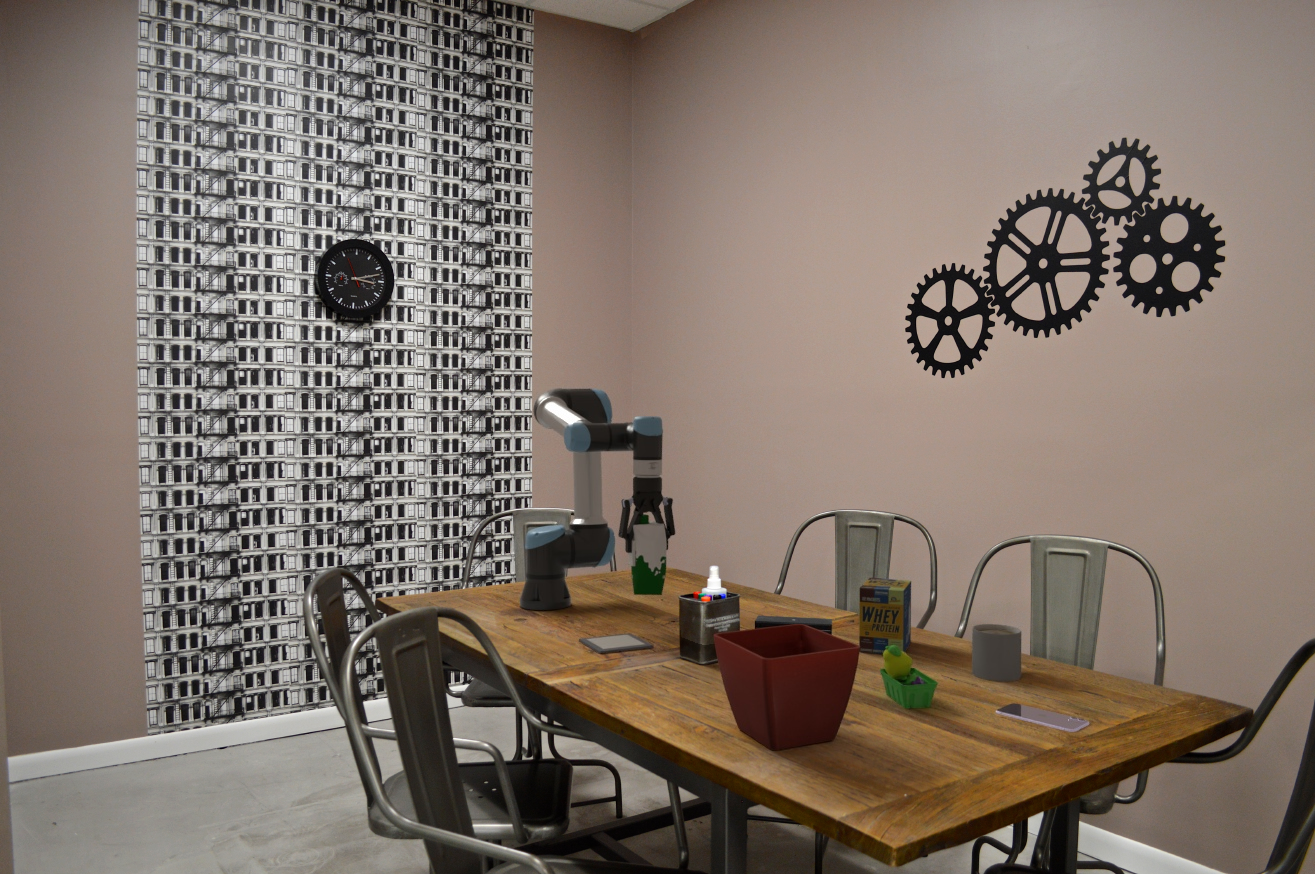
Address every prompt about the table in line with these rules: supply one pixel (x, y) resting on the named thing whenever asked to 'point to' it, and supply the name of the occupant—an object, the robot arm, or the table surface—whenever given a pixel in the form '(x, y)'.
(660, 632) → the table surface
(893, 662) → the fruit basket
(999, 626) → the coffee mug
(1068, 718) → the mobile phone
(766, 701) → the plant pot
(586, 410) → the robot arm
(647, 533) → the soya milk
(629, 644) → the mat
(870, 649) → the protein box
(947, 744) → the table surface
